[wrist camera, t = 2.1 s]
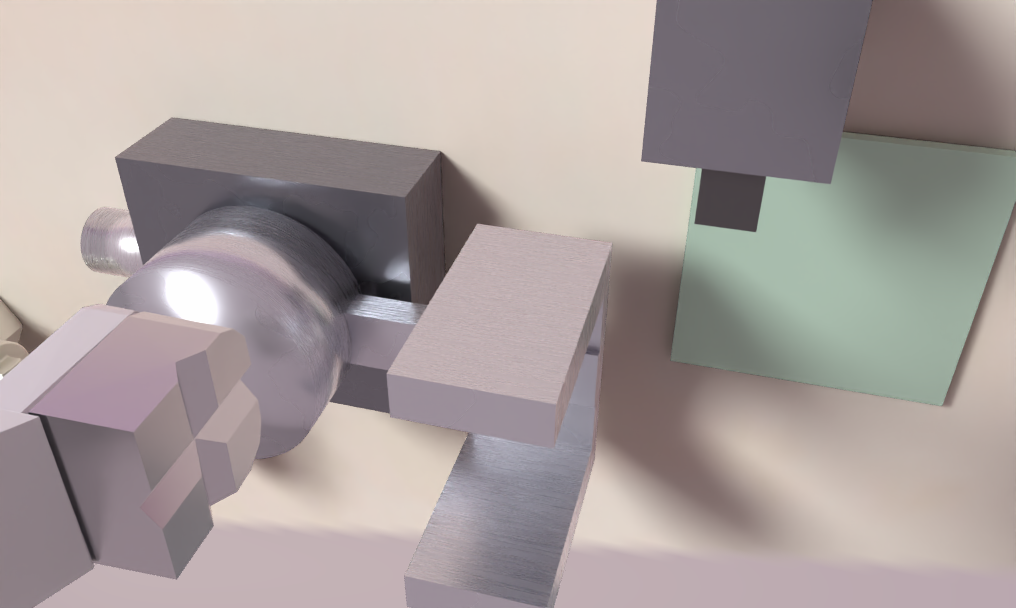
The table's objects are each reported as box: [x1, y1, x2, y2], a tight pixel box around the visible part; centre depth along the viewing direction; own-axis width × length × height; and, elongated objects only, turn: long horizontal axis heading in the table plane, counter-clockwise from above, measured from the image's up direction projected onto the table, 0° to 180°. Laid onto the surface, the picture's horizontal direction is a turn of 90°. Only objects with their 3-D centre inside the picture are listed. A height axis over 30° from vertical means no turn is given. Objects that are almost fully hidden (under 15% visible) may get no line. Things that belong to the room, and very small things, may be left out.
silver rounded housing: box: [106, 205, 612, 608], centre depth 25 cm, size 14×8×7 cm, turn 90°
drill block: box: [81, 118, 445, 413], centre depth 30 cm, size 12×8×3 cm
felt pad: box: [670, 132, 1016, 406], centre depth 26 cm, size 8×8×1 cm
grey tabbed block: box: [641, 0, 873, 232], centre depth 19 cm, size 3×6×8 cm, turn 0°
